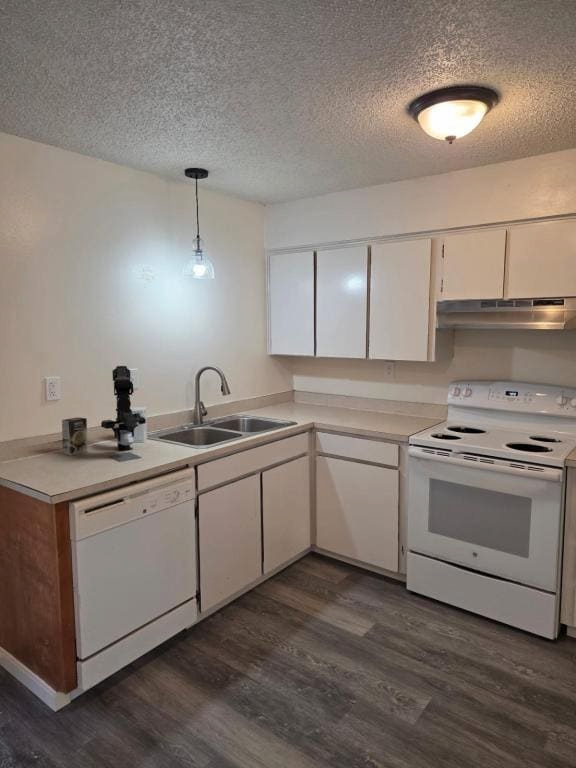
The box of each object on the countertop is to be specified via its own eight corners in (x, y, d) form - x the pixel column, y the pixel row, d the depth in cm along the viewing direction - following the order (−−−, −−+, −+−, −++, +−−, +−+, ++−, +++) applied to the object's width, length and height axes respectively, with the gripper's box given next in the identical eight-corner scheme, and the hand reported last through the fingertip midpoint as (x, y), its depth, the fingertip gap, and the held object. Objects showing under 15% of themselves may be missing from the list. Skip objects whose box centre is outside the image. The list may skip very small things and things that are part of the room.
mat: (108, 456, 229) (108, 455, 229) (129, 452, 236) (129, 451, 236) (120, 461, 220) (120, 460, 220) (141, 457, 227) (141, 457, 227)
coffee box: (71, 456, 229) (69, 421, 227) (62, 454, 233) (60, 419, 231) (88, 451, 237) (87, 418, 235) (79, 449, 240) (78, 416, 238)
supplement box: (147, 438, 266) (147, 406, 264) (144, 442, 257) (144, 409, 255) (129, 438, 265) (128, 407, 263) (125, 442, 256) (124, 410, 254)
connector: (115, 441, 229) (115, 431, 229) (124, 440, 232) (124, 429, 232) (126, 446, 221) (126, 435, 220) (136, 445, 224) (135, 434, 223)
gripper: (110, 411, 213) (111, 447, 215) (151, 406, 226) (151, 440, 228) (100, 408, 221) (101, 442, 223) (139, 403, 234) (140, 436, 236)
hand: (124, 440), depth 227 cm, fingers closed on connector, 4 cm apart
